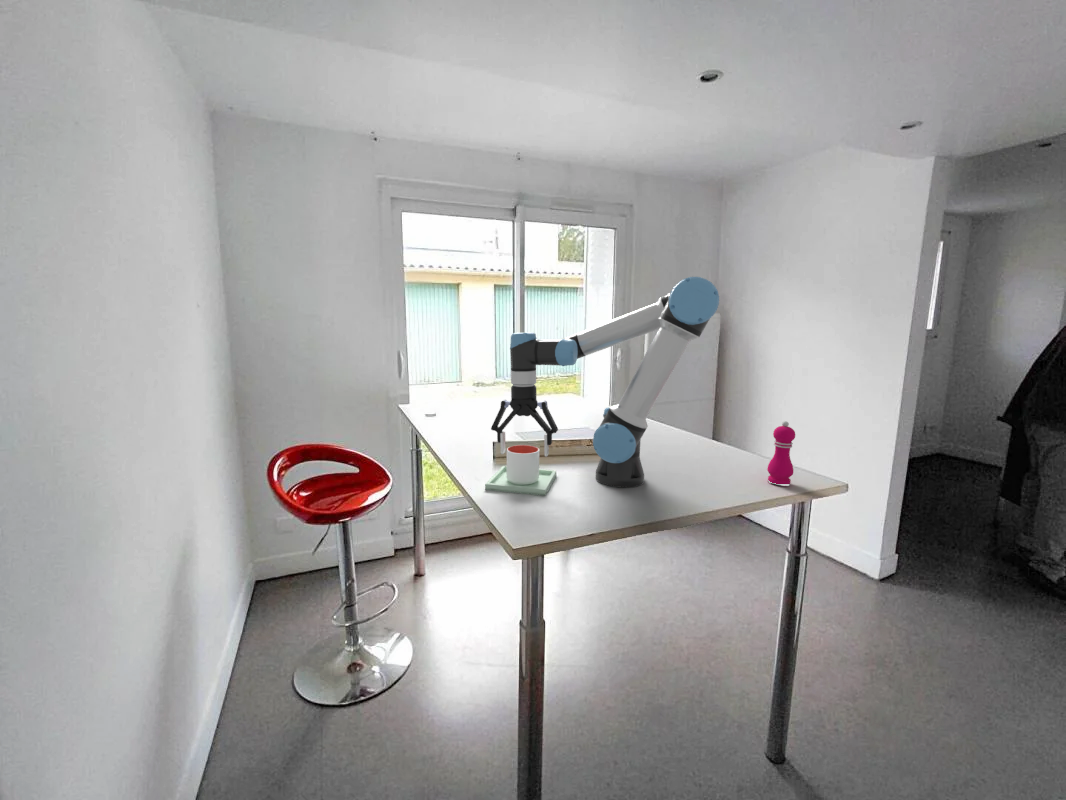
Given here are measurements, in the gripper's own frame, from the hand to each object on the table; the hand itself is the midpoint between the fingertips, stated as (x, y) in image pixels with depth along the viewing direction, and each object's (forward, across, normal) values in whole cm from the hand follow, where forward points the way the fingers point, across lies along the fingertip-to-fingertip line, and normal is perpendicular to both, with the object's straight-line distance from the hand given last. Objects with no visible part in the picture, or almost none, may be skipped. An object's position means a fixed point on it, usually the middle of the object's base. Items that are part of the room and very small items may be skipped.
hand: (524, 454), depth 141 cm
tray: (+9, +1, 0) cm, 9 cm away
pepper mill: (+12, -77, -21) cm, 81 cm away
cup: (+9, +1, 0) cm, 9 cm away
